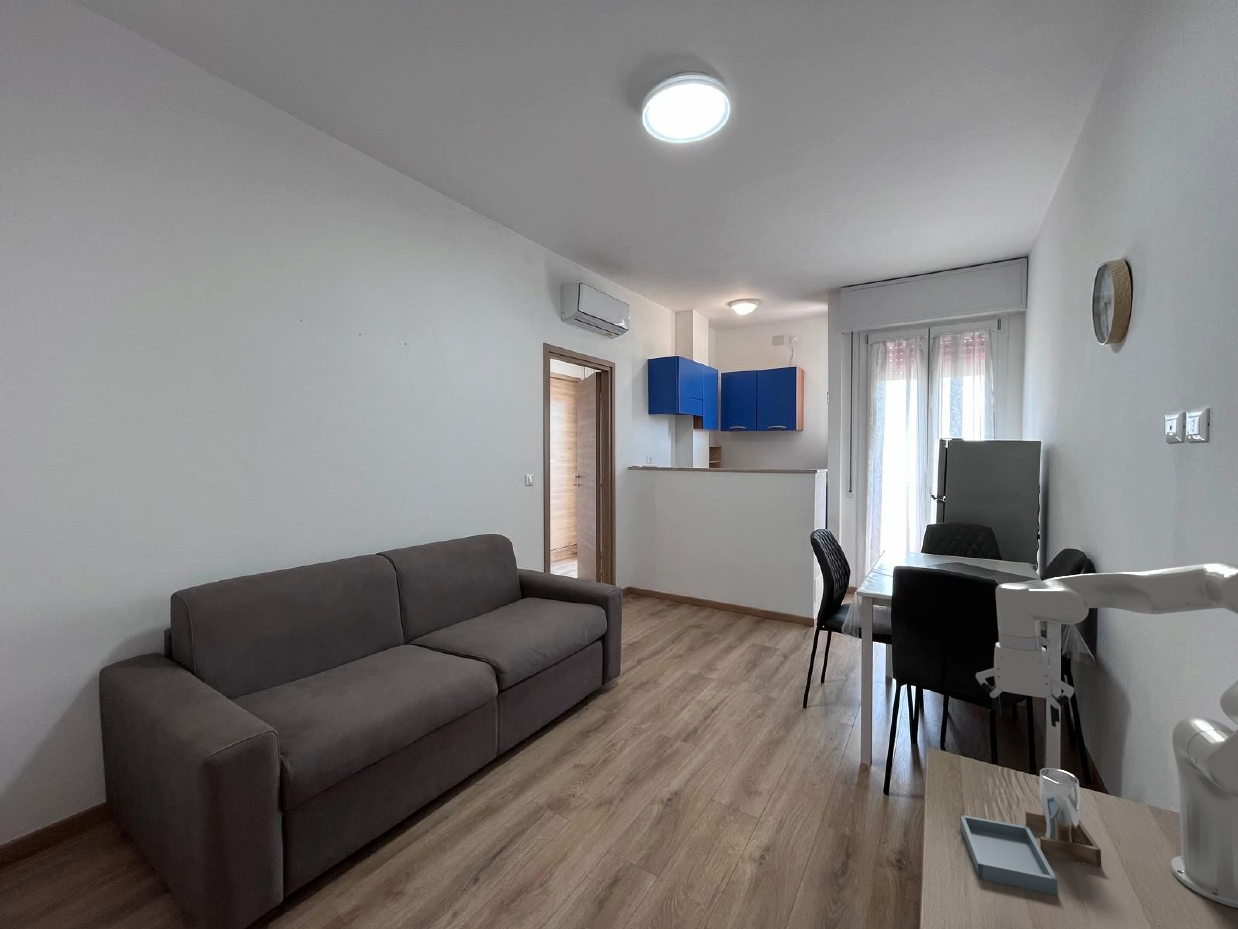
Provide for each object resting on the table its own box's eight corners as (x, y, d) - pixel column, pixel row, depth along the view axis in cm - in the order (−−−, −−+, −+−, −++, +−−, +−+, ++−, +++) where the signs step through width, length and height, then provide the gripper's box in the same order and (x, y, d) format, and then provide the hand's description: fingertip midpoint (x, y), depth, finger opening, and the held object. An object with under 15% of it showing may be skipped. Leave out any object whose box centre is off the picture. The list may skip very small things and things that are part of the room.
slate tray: (1028, 840, 118) (1028, 827, 118) (1057, 895, 103) (1057, 879, 103) (960, 827, 122) (959, 814, 122) (978, 878, 107) (978, 863, 107)
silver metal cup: (1045, 851, 114) (1042, 780, 115) (1037, 830, 121) (1035, 764, 121) (1087, 861, 111) (1084, 789, 111) (1077, 840, 117) (1074, 771, 117)
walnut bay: (1080, 835, 119) (1079, 819, 119) (1101, 867, 109) (1100, 850, 109) (1025, 825, 122) (1025, 810, 122) (1042, 855, 113) (1041, 839, 113)
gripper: (1069, 641, 115) (1075, 721, 115) (974, 631, 126) (979, 704, 126) (1072, 652, 109) (1078, 736, 109) (971, 640, 120) (977, 717, 120)
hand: (1025, 719), depth 117 cm, fingers open, 9 cm apart
